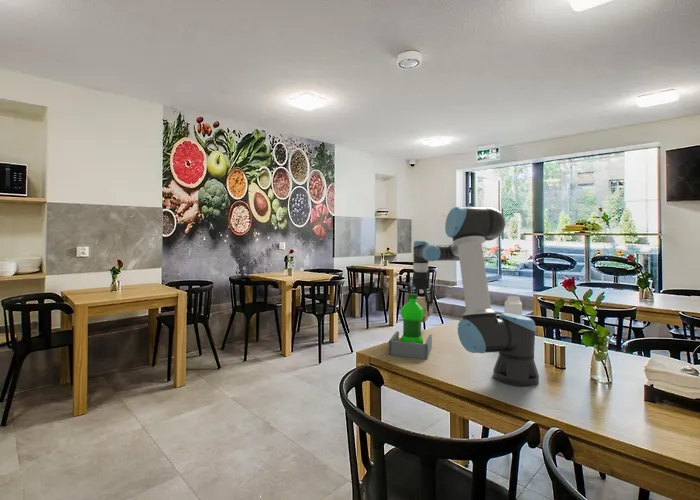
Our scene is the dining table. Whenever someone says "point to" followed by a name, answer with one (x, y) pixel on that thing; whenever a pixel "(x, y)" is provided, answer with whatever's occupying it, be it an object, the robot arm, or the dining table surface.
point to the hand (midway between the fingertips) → (420, 316)
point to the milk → (513, 305)
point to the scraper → (422, 302)
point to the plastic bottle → (412, 320)
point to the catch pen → (409, 347)
